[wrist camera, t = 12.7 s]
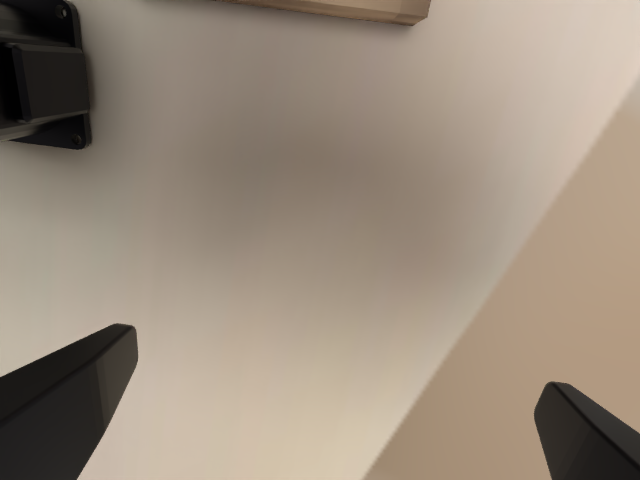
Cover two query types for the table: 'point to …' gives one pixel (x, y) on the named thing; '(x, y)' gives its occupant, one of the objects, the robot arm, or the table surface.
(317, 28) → the table surface
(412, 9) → the walnut tray
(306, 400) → the table surface
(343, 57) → the table surface
